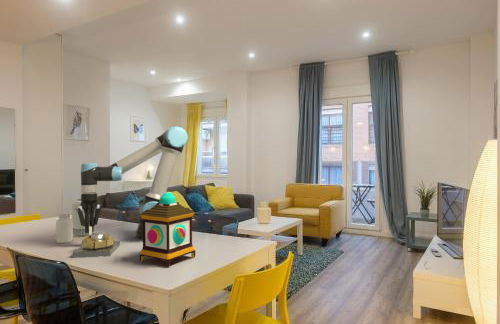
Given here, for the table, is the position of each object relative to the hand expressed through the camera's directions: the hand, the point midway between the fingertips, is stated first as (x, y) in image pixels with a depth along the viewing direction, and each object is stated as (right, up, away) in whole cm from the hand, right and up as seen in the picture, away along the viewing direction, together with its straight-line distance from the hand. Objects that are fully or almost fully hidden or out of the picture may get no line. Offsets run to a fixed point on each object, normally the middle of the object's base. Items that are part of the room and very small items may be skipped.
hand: (89, 239), depth 172 cm
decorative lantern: (+46, -4, -23) cm, 51 cm away
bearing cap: (+8, -4, -8) cm, 12 cm away
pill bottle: (-19, -4, +12) cm, 23 cm away
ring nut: (+6, -1, -5) cm, 8 cm away
